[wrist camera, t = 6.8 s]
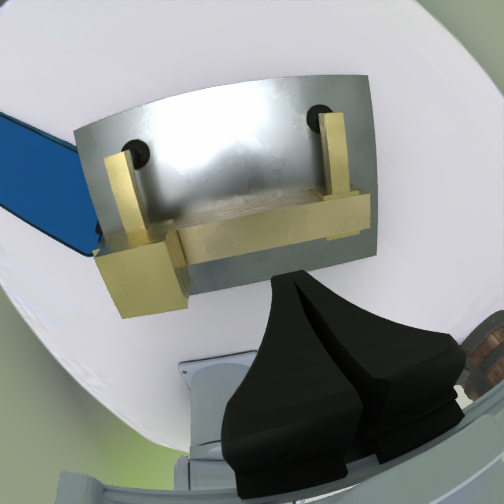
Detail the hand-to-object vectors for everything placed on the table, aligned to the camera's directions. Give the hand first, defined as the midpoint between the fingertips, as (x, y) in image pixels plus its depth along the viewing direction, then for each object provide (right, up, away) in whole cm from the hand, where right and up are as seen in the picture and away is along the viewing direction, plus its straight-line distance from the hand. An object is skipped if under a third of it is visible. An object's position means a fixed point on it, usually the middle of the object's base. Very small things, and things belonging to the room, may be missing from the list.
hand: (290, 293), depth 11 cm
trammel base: (-2, +6, +7) cm, 10 cm away
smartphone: (-18, +7, +5) cm, 20 cm away
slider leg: (-8, +4, +6) cm, 11 cm away
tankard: (+35, -15, +23) cm, 44 cm away
